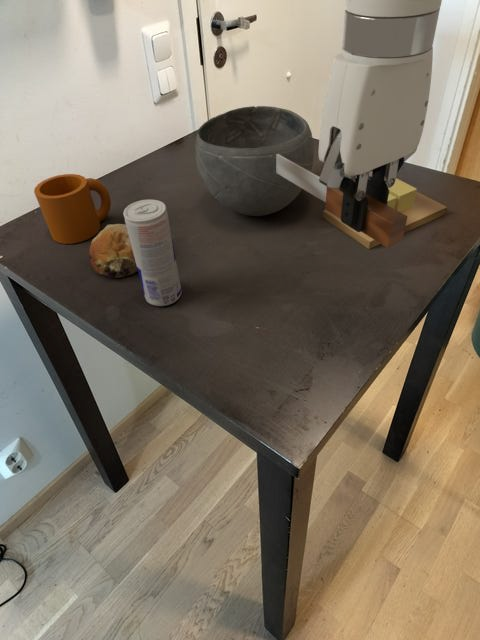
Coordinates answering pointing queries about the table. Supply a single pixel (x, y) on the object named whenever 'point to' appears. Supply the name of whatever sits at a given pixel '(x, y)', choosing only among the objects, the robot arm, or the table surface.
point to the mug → (72, 207)
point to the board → (416, 215)
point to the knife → (379, 217)
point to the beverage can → (153, 251)
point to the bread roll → (113, 252)
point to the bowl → (252, 157)
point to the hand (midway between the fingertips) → (362, 220)
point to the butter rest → (403, 195)
